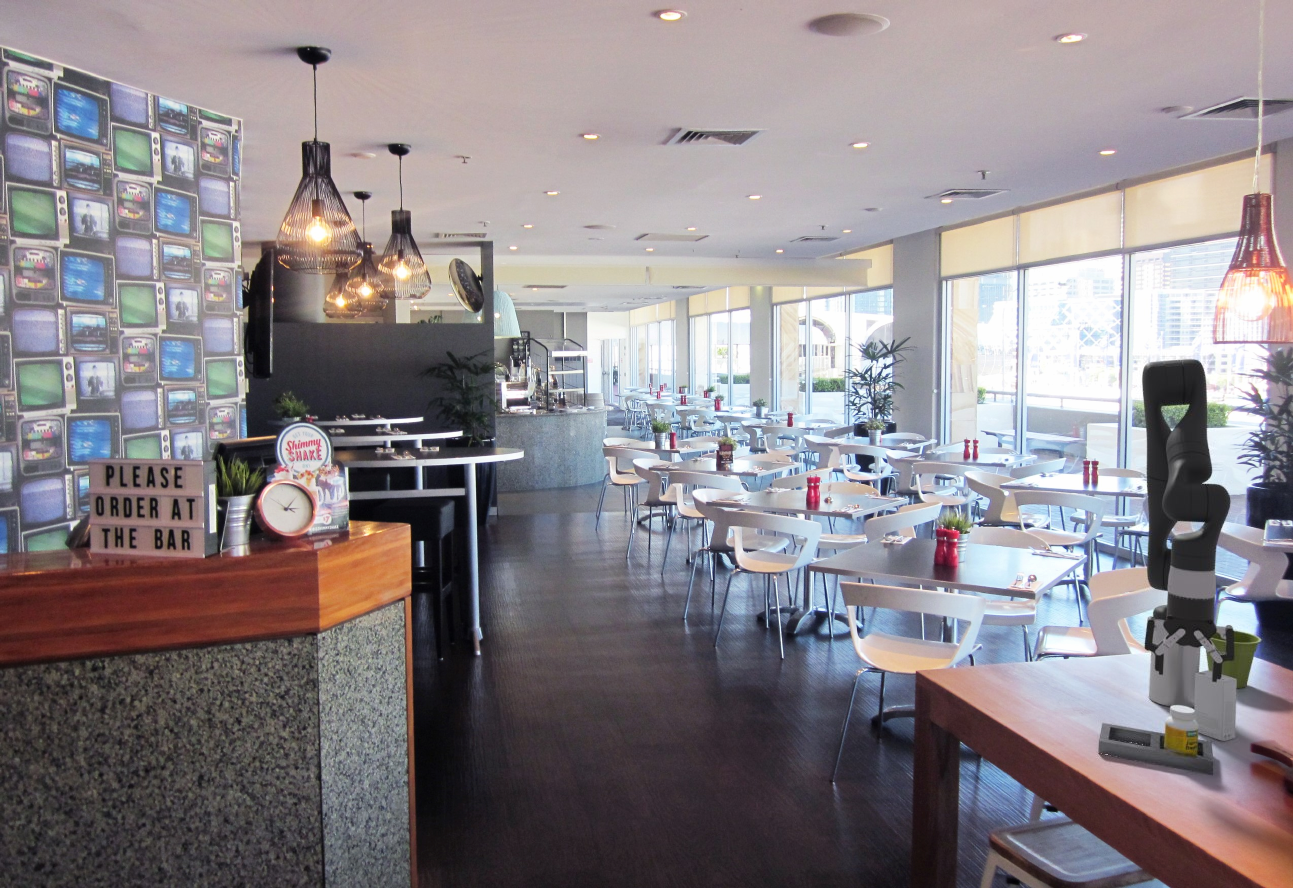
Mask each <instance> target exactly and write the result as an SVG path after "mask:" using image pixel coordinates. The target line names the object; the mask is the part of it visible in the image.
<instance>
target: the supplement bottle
mask: <svg viewBox="0 0 1293 888" xmlns="http://www.w3.org/2000/svg"><path fill="white" fill-rule="evenodd" d="M1169 707H1170V708H1169V714H1170V716H1168V717H1167V718H1166V719H1165V722H1164V723H1165V724H1164V725H1165V727H1164V733H1165V744H1164V749H1163V750H1169V751H1174V752H1180V753H1186V754H1191V755H1197V746H1198V739H1199V733H1198V724H1197V722H1196V721H1195V720H1194V718H1195V710H1194V709H1193V707H1191V708H1190V707H1186V706H1181V705H1174V706H1169ZM1197 756H1198V755H1197Z"/></svg>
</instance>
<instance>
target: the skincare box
mask: <svg viewBox="0 0 1293 888" xmlns="http://www.w3.org/2000/svg"><path fill="white" fill-rule="evenodd" d="M1236 686H1237V679H1235V678H1232V677H1228V676H1225V675H1222V676H1221V679H1220V680H1219V679H1217V682H1212V671H1209V670H1208V669H1207V670H1204V671H1203V670H1202V671H1199V673H1196V674H1195V707H1193V708H1194V710H1195V718H1194V719H1193V720H1195V721H1196V722H1197V724H1198V734H1199V733H1200V734H1202V735H1204V736H1207V737H1210V738H1212V739H1215V740H1218V741H1221V742H1227V741H1230V740H1234V739H1235V738H1236V721H1237V720H1236V718H1237V717H1236V716H1237V714H1236V713H1237V688H1236Z"/></svg>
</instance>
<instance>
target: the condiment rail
mask: <svg viewBox="0 0 1293 888" xmlns="http://www.w3.org/2000/svg"><path fill="white" fill-rule="evenodd" d="M1099 734H1100V735H1099V739H1098V752H1099V753H1102V754H1101V755H1103V754H1108V755H1111V756H1110V757H1114V756H1117V757H1116V758H1119V757H1122V758H1121V759H1124V758H1126V760H1130V759H1131V761H1135V760H1136V761H1137V762H1140V761H1141V762H1142V763H1146V764H1151V765H1157V766H1162V767H1169V768H1173V769H1179V770H1182V771H1183V770H1184V771H1189V772H1195V773H1200V774H1206V775H1210V776H1213V775H1214V754H1213V753H1214V752H1213V744H1212V741H1209V740H1204V739H1200V738H1198V746H1197V755H1191V754H1186V753H1180V752H1174V751H1169V750H1164V744H1165V732H1158V731H1152V730H1147V729H1139V728H1134V727H1130V726H1124V725H1117V724H1111V723H1105V722H1102V723H1101V727H1100V733H1099ZM1111 739H1114V740H1111ZM1117 740H1120V741H1117ZM1123 741H1126V742H1123ZM1128 742H1132V743H1128ZM1134 743H1137V744H1134ZM1139 744H1143V745H1139ZM1145 745H1147V746H1145ZM1098 752H1097V753H1098ZM1108 755H1107V756H1108Z"/></svg>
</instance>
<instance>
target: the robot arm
mask: <svg viewBox="0 0 1293 888" xmlns="http://www.w3.org/2000/svg"><path fill="white" fill-rule="evenodd" d="M1141 376H1142V377H1141V383H1142V384H1141V386H1142V388H1141V389H1142V397H1143V398H1142V400H1143V408H1144V420H1145V429H1146V491H1147V494H1146V495H1147V506H1148V507H1147V508H1148V510H1147V511H1148V537H1147V538H1148V540H1147V541H1148V542H1147V557H1146V558H1147V559H1146V560H1147V563H1146V565H1147V566H1146V573H1147V574H1146V575H1147V581H1148V584H1149V586H1150V587H1151V589H1155V590H1159V591H1164V592H1167V596H1166V597H1167V599H1166V600H1167V602H1166V604H1162V605H1158V606H1156V607H1155V608H1154V609H1153V611H1152V616H1148V617H1147V621H1146V622H1147V623H1146V630H1145V638H1144V650H1145V651H1150V665H1149V666H1150V667H1149V668H1150V669H1149V680H1148V681H1149V683H1148V684H1149V686H1148V698H1149V699H1150V700H1151V701H1152V702H1154V703H1157V704H1160V705H1163V706H1165V707H1171V706H1174V705H1181V706H1186V707H1190V708H1195V674H1196V673H1199V672H1200V663H1201V648H1202V647H1203V648H1204V649H1205V651H1206V650H1207V652H1208V653H1209V654H1210V655H1211V656H1212V658H1213V665H1212V682H1217V679H1219V680H1220V679H1221V676H1222V663H1223V662H1225V661H1233V660H1234V626H1233V625H1231V624H1227V625H1225V626H1219V625H1218V626H1217V625H1216V624H1215V609H1216V608H1215V607H1216V593H1217V580H1216V577H1217V576H1216V558H1217V557H1216V555H1217V547H1218V543H1219V542H1218V541H1219V538H1220V534H1221V532H1222V529H1223V526H1224V524H1225V522H1226V519H1227V517H1228V515H1229V512H1230V510H1231V503H1232V502H1231V501H1232V500H1231V496H1230V493H1229V492H1228V490H1227V489H1226V487H1224V486H1223V485H1222V484H1219V483H1218V484H1217V483H1205V482H1208V480H1210V479H1211V477H1212V474H1213V465H1212V459H1211V454H1210V452H1211V451H1210V448H1209V442H1208V395H1207V393H1208V392H1207V379H1206V372H1205V368H1204V366H1203V364H1202V362H1201V361H1200V360H1199V359H1195V358H1194V359H1193V358H1189V359H1188V358H1186V359H1172V360H1160V361H1159V360H1157V361H1149V362H1147V363H1146V364H1145V365H1144V367H1143V369H1142V375H1141ZM1171 406H1172V407H1173V406H1175V407H1177V406H1188V408H1187V410H1186V412H1185V414H1184V415H1183V416H1182V418H1181V419H1180V420H1179V422H1178V423H1177V424H1176V425H1175V426H1174V428H1173V429H1171V428H1170V426H1169V425H1168V422H1167V421H1166V419H1165V417H1164V415H1163V412H1162V407H1171ZM1178 522H1185V523H1186V522H1189V523H1190V522H1191V523H1203V525H1202V526H1201V527H1200V528H1199V529H1198V530H1195V531H1191V532H1185V533H1180V534H1176V535H1175V536H1174V537H1173V538H1172V539H1171V547H1170V548H1168V543H1167V542H1168V538H1169V535H1170V534H1171V532H1172V531H1173V528H1174V527H1175V526H1176V525H1177V523H1178ZM1216 632H1217V633H1219V634H1220V635H1221V638H1223V639H1226V652H1223V653H1220V652H1219V651H1218V650H1217V648H1216V647H1215V646H1214V644H1213V643H1212V641H1211V640H1210V639H1211V638H1212V637H1213V636H1214V635H1215V634H1216Z"/></svg>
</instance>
